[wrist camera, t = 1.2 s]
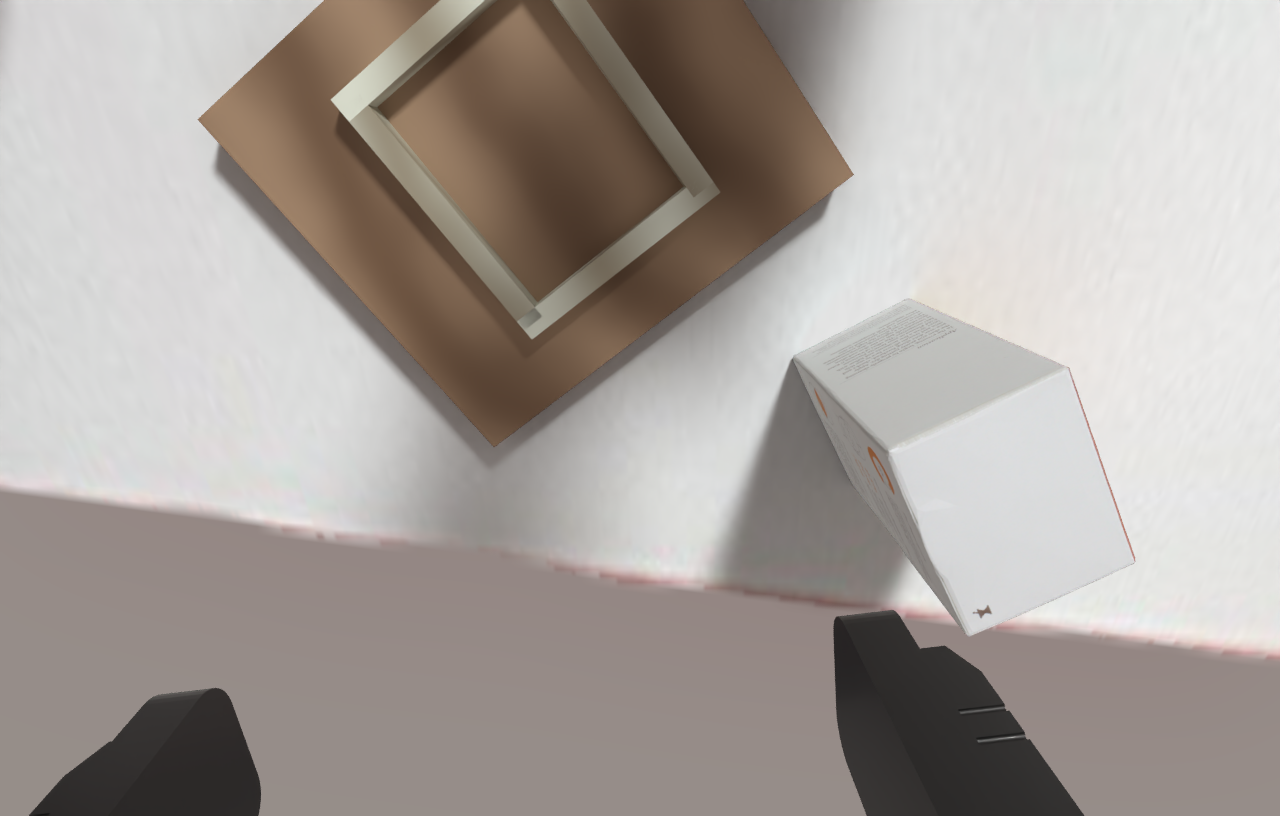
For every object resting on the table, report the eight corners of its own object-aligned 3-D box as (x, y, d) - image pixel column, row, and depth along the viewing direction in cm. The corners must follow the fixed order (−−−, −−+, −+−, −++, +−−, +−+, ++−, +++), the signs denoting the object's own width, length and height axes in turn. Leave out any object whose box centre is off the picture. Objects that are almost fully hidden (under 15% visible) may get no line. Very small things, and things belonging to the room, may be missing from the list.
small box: (967, 433, 37) (1143, 567, 25) (851, 487, 38) (966, 645, 26) (910, 291, 35) (1073, 363, 22) (788, 353, 36) (880, 455, 23)
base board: (588, -219, 28) (585, -266, 25) (840, 174, 33) (863, 175, 30) (222, 122, 31) (180, 117, 28) (500, 432, 36) (490, 457, 33)
